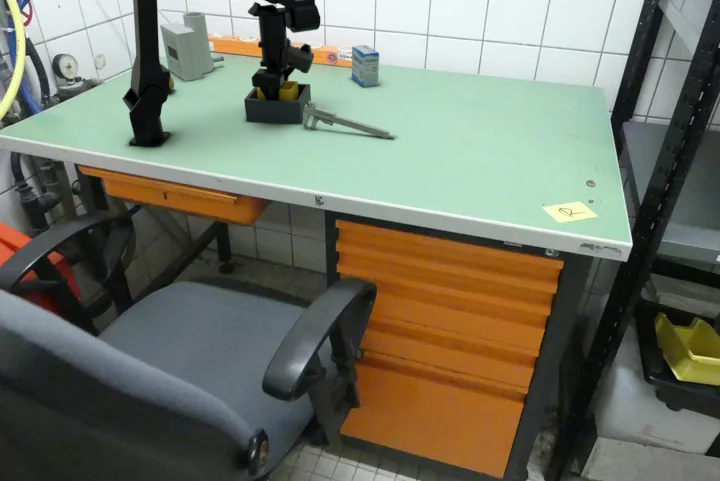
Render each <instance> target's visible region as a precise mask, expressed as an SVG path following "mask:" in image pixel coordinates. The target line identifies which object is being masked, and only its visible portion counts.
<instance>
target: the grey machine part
mask: <svg viewBox="0 0 720 481" xmlns="http://www.w3.org/2000/svg"><path fill="white" fill-rule="evenodd" d="M182 19H183V23H179V22H176V21H175V22H168V23H162V24H160V25H159V27H160V32H161V37H162V43H163V47H164V54H165V58H166V64H167V69H169V71H170V73H173V74H174V75H176V76H177V77H179V79H182V80H183V81H184V82H188V81H195V80H198V79H203V74H207V73H210V72H212V71H213V70H214V67H215V65H214V64H215V63H218V62H224V61H225V58H224V56H217V57H212V55H211V48H210V42H209V41H210V40H209V34H208V27H207V21H206V20H207V19H206V15H205V12H202V11H189V12H184V13H182Z"/></svg>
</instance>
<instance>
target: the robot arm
mask: <svg viewBox="0 0 720 481" xmlns="http://www.w3.org/2000/svg"><path fill="white" fill-rule="evenodd" d="M263 1H265V2H267V3H269V4H263V5H262V4H261V3H259V2H257V1H254V2H253V5H252V6H250V8H249V9H248V10H247V13H248V14H249V15H251V16H252V17H255V18H258V28H259V38H260V40H259V41H258V42H257V46H258V48H259V49H260V50H261V60H260V62H259V66H260V67H261V68H258V69H257V70H256V71H255V73H254V74H253V75H252V76H251V86H252V87H253V88H254V87H259V88H260V90H261V91H262V93H263V94H264V96H265V97H266V99H268V100H279V93H280V89H281V88H282V87H283V85H284V84H285V82H284V81H289V78H290V76H291V75H292V73H293V72H294V71H295V70H297V71H300V73H302V74H308V73H309V71H310V70H311V68H312V66H313V65H312V64H313V62H314V59H315V53H314V52H313V51H312V46H311V45H310V44H308V43H303V44H302V46H300V47H299V46H293V45H292V42H291V39H290V37H288V34H287V29H289V30H290V31H291V33H293V34H297V33H303V32H310V31H317V30H319V28H320V26H321V15H320V10H319V7H318V6H317V5H316V0H263ZM132 4H133V24H134V25H133V26H134V38H135V39H134V42H135V59H134V62H133V64H132V68H131V76H130V87H129V88H128V89H127V91H126V93H125V94H124V96H122V101H123V103H124V104H125V106H126V107H127V109H128V110H129V112H128V115H129V122H130V125H131V128H132V133H133V138H132V139H130V140H129V142H128V144H129V145H130V146H143V147H160V146H161V145H162V144H163V143H164V142H165V141H166V140H167V139H168V138H169V137H170V136H171V132H170V131H165V130H164V128H163V123H162V118H161V116H162V115H161V114H162V110H163V105H164V104H165V103H166V102H167V100H168V97H169V94H170V93H172V91H171V89H170V86H169V81H170V75H171V71H170V70H169V71H168V68H167V67H166V66H165V65H164V64H162V63H161V61H160V42H159V40H160V38H159V16H158V15H159V13H158V0H132ZM277 4H278V5H280V6H283V7H277V6H276V5H277ZM168 92H170V93H168Z"/></svg>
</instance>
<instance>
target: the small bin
mask: <svg viewBox="0 0 720 481" xmlns="http://www.w3.org/2000/svg"><path fill="white" fill-rule="evenodd" d="M284 82H285V84H284V85H283V87H282V88H281V89H280V93H279V100H288V101H297V100H298V99H299V95H298V84H299V81H298V80H288V81H284ZM257 96H258V99H266V97H265V96H264V94H263V93H262V91H261V90H260V88H259V87H258V88H257Z"/></svg>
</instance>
